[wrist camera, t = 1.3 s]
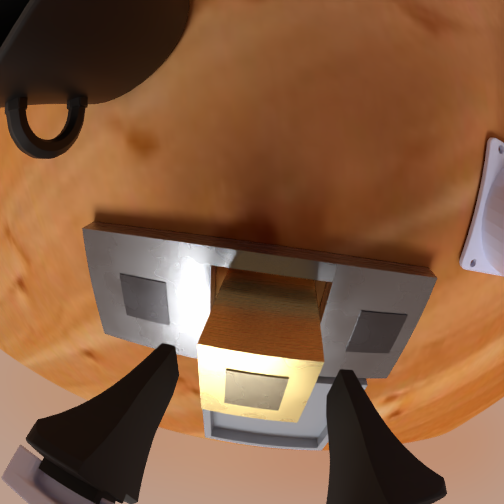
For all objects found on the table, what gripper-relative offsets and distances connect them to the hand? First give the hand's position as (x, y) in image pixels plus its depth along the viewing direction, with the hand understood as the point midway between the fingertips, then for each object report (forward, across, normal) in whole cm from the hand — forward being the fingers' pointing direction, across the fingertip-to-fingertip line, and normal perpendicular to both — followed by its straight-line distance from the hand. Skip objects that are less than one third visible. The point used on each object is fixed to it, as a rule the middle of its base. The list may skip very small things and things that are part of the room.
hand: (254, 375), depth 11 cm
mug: (+5, +10, -15) cm, 18 cm away
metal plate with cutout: (+5, +1, 0) cm, 5 cm away
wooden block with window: (+5, 0, 0) cm, 5 cm away
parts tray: (+5, -2, +10) cm, 11 cm away
